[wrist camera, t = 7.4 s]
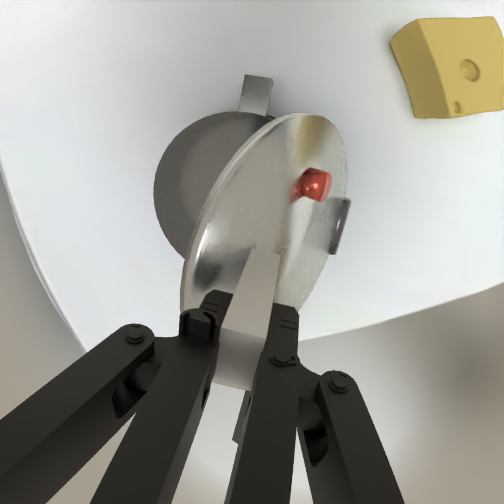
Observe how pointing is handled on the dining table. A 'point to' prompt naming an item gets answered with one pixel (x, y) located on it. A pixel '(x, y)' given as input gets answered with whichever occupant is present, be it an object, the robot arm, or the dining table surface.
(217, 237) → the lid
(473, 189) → the dining table surface
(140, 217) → the dining table surface
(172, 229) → the pot
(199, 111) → the dining table surface
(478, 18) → the cheese
